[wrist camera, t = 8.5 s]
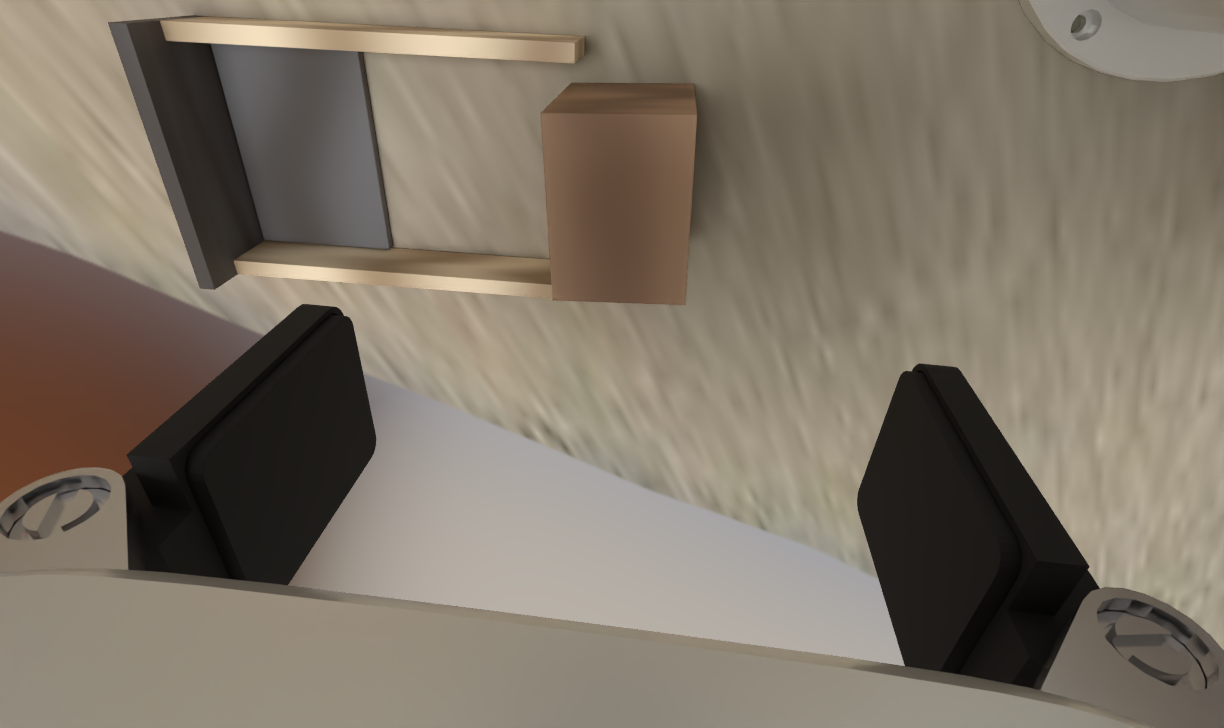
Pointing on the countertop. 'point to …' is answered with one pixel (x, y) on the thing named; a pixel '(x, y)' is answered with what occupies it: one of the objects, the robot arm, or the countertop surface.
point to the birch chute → (299, 147)
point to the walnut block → (620, 191)
